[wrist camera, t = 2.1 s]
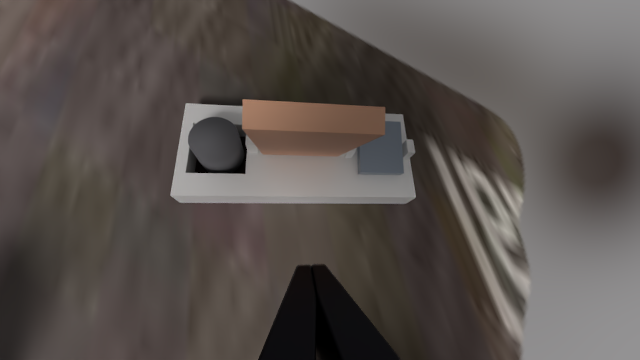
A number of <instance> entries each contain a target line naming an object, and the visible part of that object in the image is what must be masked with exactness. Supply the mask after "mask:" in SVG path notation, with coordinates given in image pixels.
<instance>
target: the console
mask: <svg viewBox="0 0 640 360" xmlns="http://www.w3.org/2000/svg"><path fill="white" fill-rule="evenodd" d="M242 109H243V106H227V105H207V104H188V103H186V106H185V112H184V118H183V124H182V130H181V136H180V141H179V147H178V153H177V159H176V165H175V171H174V177H173V183H172V189H171V195H170V196H172V197H173V198H174V199H176V200H177V201H178V202H180V203H330V204H406V203H408V202H410V201H411V200H413V199H414V198H416V194H415V188H414V181H413V175H412V169H411V163H410V157H411V156H412V155H413V154H414V153H415V148H414V142H413V140H409V139H407V138H406V132H405V125H404V119H403V115H402V114H385V121H394V122H401V135H402V151H403V166H404V173H403V174H401V175H365V174H358V160H357V148H355V149H353V150H351V151H348V152H346V153H344V154H342V155H340V156H337V157H334V156H299V155H264V154H262V153H261V152H260V150H259V149H258V148H257V147H256V145H255V144H254V143H253V142H252V141H251V139H250V138H249V137H248V136H247V134H246V133H245V132H244V131H243V129H242ZM209 117H221V118H224V119H227V120H229V121H230V122H232V123H233V124H234V125H235V127H236V128H237V130H238V133H239V136H245V137H246V143H245V144H246V148H247V156H246V171H245V174H222V173H195V169H196V161H197V158H196V156H195V155H194V153H193V152H192V150H191V149H190V147H189V144H188V135H189V132H190V130H191V129H192V127H193V126H194V125H195V124H196V123H197V122H199V121H201V120H203V119H205V118H209Z"/></svg>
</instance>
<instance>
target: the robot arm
mask: <svg viewBox="0 0 640 360" xmlns="http://www.w3.org/2000/svg"><path fill="white" fill-rule="evenodd" d="M258 360H400V358H399V356H398V355H397V354H396V353H395V351H394V350H393V349H392V348H391V346H390V345H389V344H388V343H387V341H386V340H385V339H384V338H383V336H382V335H381V334H380V333H379V331H378V330H377V329H376V328H375V326H374V325H373V324H372V323H371V321H370V320H369V319H368V318H367V316H366V315H365V314H364V313H363V311H362V310H361V309H360V308H359V306H358V305H357V304H356V303H355V301H354V300H353V299H352V298H351V296H350V295H349V294H348V293H347V291H346V290H345V289H344V287H343V286H342V285H341V284H340V282H339V281H338V280H337V279H336V277H335V276H334V275H333V274H332V272H331V271H330V270H329V269H328V267H327V266H326V265H325V264H313V265H312V266H310V265H298V266H297V267H296V269H295V272H294V274H293V276H292V279H291V281H290V284H289V286H288V288H287V291H286V293H285V296H284V298H283V301H282V303H281V305H280V308H279V310H278V313H277V315H276V318H275V320H274V322H273V325H272V327H271V330H270V332H269V335H268V337H267V339H266V342H265V344H264V347H263V349H262V352H261V354H260V356H259V359H258Z"/></svg>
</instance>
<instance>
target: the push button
mask: <svg viewBox="0 0 640 360" xmlns="http://www.w3.org/2000/svg"><path fill="white" fill-rule="evenodd" d="M188 144H189V147H190V149H191V150H192V152H193V153H194V155H195V156H196V158H197V159H198V160H199V162H200V163H201V165H202V166H203V167H204V168H205V169H206V170H207V171H208V172H210V173H222V174H230V173H232V172H234V171H235V170H237V169H238V168H239V167H240V166H241V164H242V162H243V160H244V150H243V146H242V143H241V140H240V136H239V133H238V130H237V128H236V127H235V125H234V124H233V123H232V122H230V121H229V120H227V119H224V118H221V117H209V118H205V119H203V120H201V121H199V122H197V123H196V124H195V125H194V126H193V127H192V129H191V130H190V132H189V135H188Z"/></svg>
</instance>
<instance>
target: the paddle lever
mask: <svg viewBox="0 0 640 360" xmlns="http://www.w3.org/2000/svg"><path fill="white" fill-rule="evenodd" d="M242 129H243V131H244V132H245V133H246V134H247V136H248V137H249V138H250V139H251V141H252V142H253V143H254V144H255V145H256V147H257V148H258V149H259V150H260V152H261V153H262V154H264V155H299V156H334V157H337V156H340V155H342V154H344V153H346V152H348V151H351V150H353V149H355V148H357V147H359V146H361V145H364V144H366V143H368V142H370V141H372V140H375V139H377V138H379V137H381V136H383V135H385V107H375V106H357V105H338V104H320V103H302V102H284V101H265V100H247V99H243V109H242Z"/></svg>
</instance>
